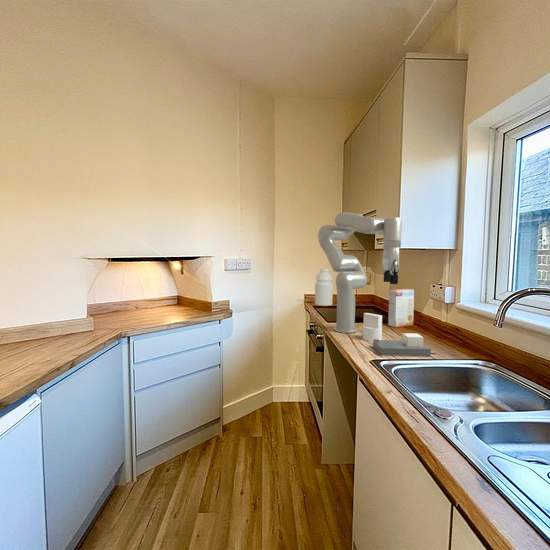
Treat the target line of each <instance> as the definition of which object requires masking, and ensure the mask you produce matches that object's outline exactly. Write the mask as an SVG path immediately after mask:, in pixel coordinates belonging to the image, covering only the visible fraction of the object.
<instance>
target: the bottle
mask: <svg viewBox="0 0 550 550" xmlns="http://www.w3.org/2000/svg"><path fill="white" fill-rule="evenodd" d="M329 270H330V269H329V268H320V270H319V271H320V272H318V273H317V275H316V276H315V277H316V278H315V280H316V282H315V283H314V305H316V306H319V307H320V306H322V307H326V306H327V307H328V306H333V300H334V299H333V297H334V296H333V295H334V294H333V292H334V283H333V279H334V278H333V276H332V274H331V273H330V271H329Z"/></svg>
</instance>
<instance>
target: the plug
mask: <svg viewBox="0 0 550 550" xmlns="http://www.w3.org/2000/svg"><path fill="white" fill-rule="evenodd" d="M401 340H402V342H403V343H404V344H405V345H406V346H409V347H423V344H424V337H423V336H422V335H421V334H419V333H410V332H409V333H407V332H405V333H404V332H403V333H402V339H401Z"/></svg>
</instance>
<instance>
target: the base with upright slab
mask: <svg viewBox="0 0 550 550" xmlns="http://www.w3.org/2000/svg"><path fill="white" fill-rule="evenodd" d="M364 339H365V340H364ZM374 339H379V340H383V315H381V314H375V313H369V312H363V325H362V340H364V341H367V340H368V342H373V340H374Z"/></svg>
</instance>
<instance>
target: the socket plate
mask: <svg viewBox="0 0 550 550" xmlns="http://www.w3.org/2000/svg"><path fill="white" fill-rule="evenodd" d="M372 347H373V348H374V349H375V350H376V352H377V353H378V354H379V355H380V354H381V355H380V356H382V355H415V356H414V357H431V355H432V353H431V351H432V348H430V347H428V346H427V345H425V344H424V343H423V347H409V346H406V345H405V344H404V343H403V342H402V339H401V340H400V339H382V340H379V339H374V340H373V341H372Z"/></svg>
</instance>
